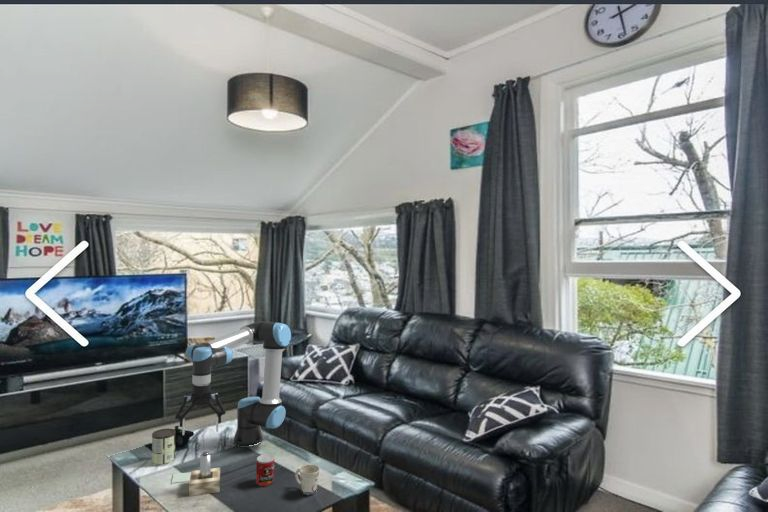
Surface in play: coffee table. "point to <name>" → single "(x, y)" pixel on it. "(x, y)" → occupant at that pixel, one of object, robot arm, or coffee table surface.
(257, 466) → the canned food
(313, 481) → the mug
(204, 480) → the housing
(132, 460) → the coffee table surface
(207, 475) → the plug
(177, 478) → the pad
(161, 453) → the coffee can
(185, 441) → the controller
